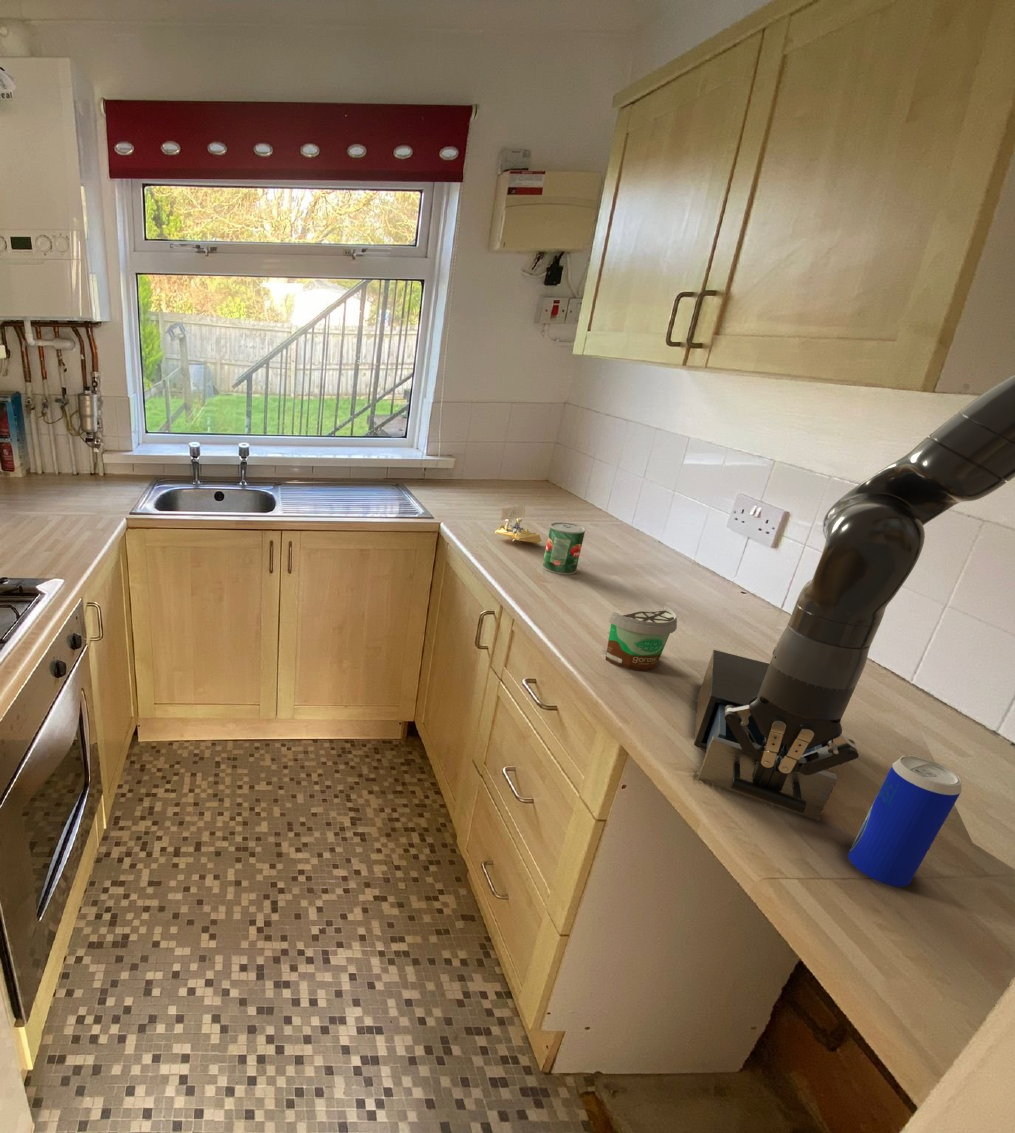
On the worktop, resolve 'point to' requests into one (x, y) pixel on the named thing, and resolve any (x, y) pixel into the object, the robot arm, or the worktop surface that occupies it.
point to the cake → (516, 525)
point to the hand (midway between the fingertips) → (763, 789)
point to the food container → (639, 638)
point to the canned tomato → (563, 548)
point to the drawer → (736, 769)
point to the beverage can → (904, 820)
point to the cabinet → (727, 687)
